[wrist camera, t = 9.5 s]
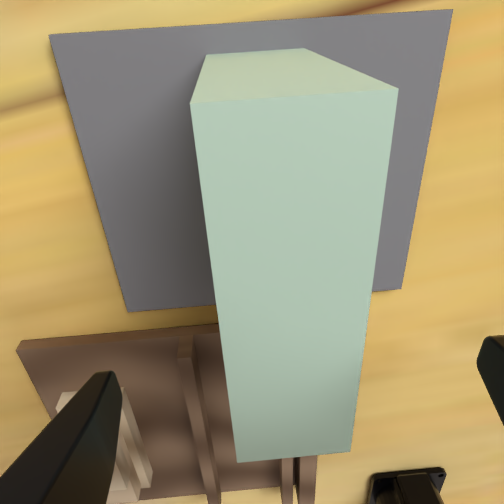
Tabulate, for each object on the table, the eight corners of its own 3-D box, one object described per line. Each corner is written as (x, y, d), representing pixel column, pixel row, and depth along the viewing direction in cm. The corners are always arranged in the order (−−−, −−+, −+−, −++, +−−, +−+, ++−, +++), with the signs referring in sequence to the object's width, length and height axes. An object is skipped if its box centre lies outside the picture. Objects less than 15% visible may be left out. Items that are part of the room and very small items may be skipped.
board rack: (307, 473, 34) (314, 508, 31) (98, 494, 33) (88, 531, 31) (313, 315, 24) (323, 348, 22) (21, 340, 24) (-1, 377, 21)
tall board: (300, 284, 22) (350, 451, 14) (231, 290, 22) (237, 462, 14) (304, 48, 16) (398, 88, 7) (206, 54, 16) (189, 103, 7)
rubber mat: (397, 283, 24) (401, 289, 23) (129, 305, 23) (127, 312, 22) (445, 9, 16) (453, 9, 16) (54, 34, 16) (48, 34, 15)
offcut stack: (152, 471, 31) (145, 522, 28) (101, 476, 31) (88, 528, 28) (124, 386, 25) (111, 438, 22) (62, 392, 25) (40, 444, 22)
